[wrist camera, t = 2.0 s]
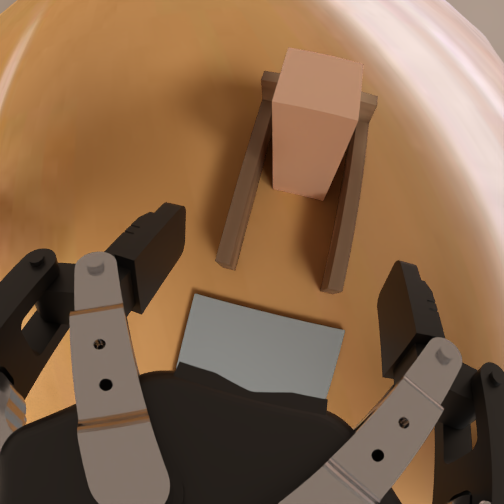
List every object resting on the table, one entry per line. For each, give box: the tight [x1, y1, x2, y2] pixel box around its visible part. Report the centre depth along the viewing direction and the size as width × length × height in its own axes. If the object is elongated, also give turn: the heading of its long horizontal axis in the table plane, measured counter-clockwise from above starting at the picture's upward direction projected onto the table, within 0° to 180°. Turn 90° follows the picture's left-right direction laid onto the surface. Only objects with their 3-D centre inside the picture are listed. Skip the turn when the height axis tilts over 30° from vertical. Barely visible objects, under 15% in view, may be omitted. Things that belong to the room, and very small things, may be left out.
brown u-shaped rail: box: [215, 71, 378, 294], centre depth 26 cm, size 10×17×7 cm, turn 166°
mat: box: [176, 294, 345, 399], centre depth 27 cm, size 14×12×1 cm
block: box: [272, 47, 363, 201], centre depth 23 cm, size 5×5×14 cm
